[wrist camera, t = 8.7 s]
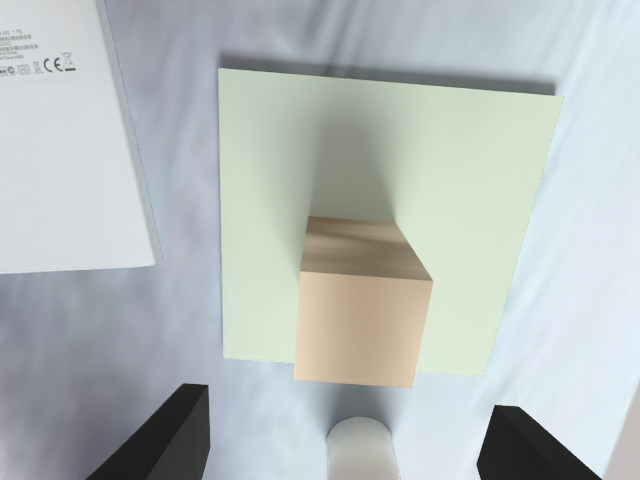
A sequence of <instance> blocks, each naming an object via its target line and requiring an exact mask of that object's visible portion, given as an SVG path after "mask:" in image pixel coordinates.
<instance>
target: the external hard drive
mask: <svg viewBox="0 0 640 480" xmlns="http://www.w3.org/2000/svg"><path fill="white" fill-rule="evenodd" d="M162 258H163V254H162V250H161V246H160V241H159V237H158V232H157V228H156V223H155V219H154V215H153V211H152V206H151V202H150V198H149V193H148V189H147V185H146V180H145V176H144V171H143V167H142V163H141V158H140V154H139V149H138V146H137V141H136V137H135V132H134V127H133V123H132V119H131V114H130V110H129V106H128V101H127V97H126V92H125V88H124V83H123V79H122V75H121V70H120V66H119V62H118V57H117V53H116V48H115V44H114V40H113V35H112V31H111V27H110V22H109V18H108V13H107V9H106V5H105V0H0V274H9V273H31V272H48V271H69V270H90V269H111V268H129V267H142V266H153V265H155V264H156V263H157V262H159V261H160V260H161V259H162Z"/></svg>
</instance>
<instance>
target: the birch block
mask: <svg viewBox="0 0 640 480" xmlns="http://www.w3.org/2000/svg"><path fill="white" fill-rule="evenodd" d="M433 282H434V281H433V279H432V278H431V276H430V275H429V273H428V272H427V270H426V269H425V267H424V265H423V264H422V262H421V261H420V259H419V258H418V256H417V255H416V253H415V252H414V250H413V249H412V247H411V245H410V244H409V242H408V241H407V239H406V238H405V236H404V235H403V233H402V232H401V230H400V228H399V227H398V225H397V224H396V223H394V222H380V221H367V220H353V219H340V218H327V217H313V216H308V222H307V229H306V235H305V242H304V248H303V255H302V261H301V267H300V278H299V294H298V311H297V328H296V344H295V361H294V378H293V380H300V381H315V382H329V383H344V384H359V385H374V386H388V387H403V388H412V386H413V381H414V376H415V371H416V366H417V361H418V356H419V351H420V346H421V341H422V336H423V331H424V326H425V322H426V317H427V312H428V307H429V302H430V297H431V292H432V287H433Z"/></svg>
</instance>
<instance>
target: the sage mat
mask: <svg viewBox="0 0 640 480" xmlns="http://www.w3.org/2000/svg"><path fill="white" fill-rule="evenodd" d="M218 92H219V147H220V201H221V256H222V310H223V358H229V359H243V360H257V361H271V362H286V363H294V361H295V344H296V328H297V311H298V294H299V278H300V267H301V261H302V255H303V248H304V242H305V235H306V229H307V222H308V216H313V217H327V218H340V219H353V220H367V221H380V222H394V223H396V224H397V225H398V227H399V228H400V230H401V232H402V233H403V235H404V236H405V238H406V239H407V241H408V242H409V244H410V245H411V247H412V249H413V250H414V252H415V253H416V255H417V256H418V258H419V259H420V261H421V262H422V264H423V265H424V267H425V269H426V270H427V272H428V273H429V275H430V276H431V278H432V279H433V281H434V282H433V287H432V292H431V297H430V302H429V307H428V312H427V317H426V322H425V326H424V331H423V336H422V341H421V346H420V351H419V356H418V361H417V366H416V371H415V372H426V373H441V374H455V375H469V376H483V377H484V376H485V372H486V369H487V365H488V362H489V358H490V355H491V351H492V348H493V344H494V341H495V337H496V334H497V330H498V327H499V323H500V320H501V316H502V313H503V309H504V306H505V302H506V299H507V295H508V292H509V288H510V285H511V281H512V278H513V275H514V271H515V268H516V264H517V261H518V257H519V254H520V250H521V247H522V243H523V240H524V236H525V233H526V229H527V226H528V222H529V219H530V215H531V212H532V208H533V205H534V201H535V198H536V194H537V191H538V187H539V184H540V180H541V177H542V173H543V170H544V166H545V163H546V159H547V156H548V152H549V149H550V145H551V142H552V138H553V135H554V131H555V128H556V124H557V121H558V117H559V114H560V110H561V107H562V103H563V100H564V97H563V96H551V95H539V94H527V93H515V92H503V91H491V90H479V89H467V88H454V87H442V86H430V85H418V84H406V83H394V82H382V81H370V80H358V79H346V78H334V77H321V76H309V75H297V74H285V73H273V72H261V71H249V70H237V69H225V68H218Z"/></svg>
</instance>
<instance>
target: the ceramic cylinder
mask: <svg viewBox="0 0 640 480" xmlns="http://www.w3.org/2000/svg"><path fill="white" fill-rule="evenodd" d="M326 445H327V480H401V477H400V472H399V468H398V463H397V458H396V454H395V449H394V444H393V440H392V436H391V433H390V431H389V429H388V428H387V427H386V426H385V425H384V424H383V423H381V422H380V421H378V420H376V419H373V418H369V417H352V418H348V419H345V420H343V421H340V422H339V423H337V424H336V425H335V426H334V427H333V428H332V429H331V430H330V431H329V433H328V436H327V441H326Z"/></svg>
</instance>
